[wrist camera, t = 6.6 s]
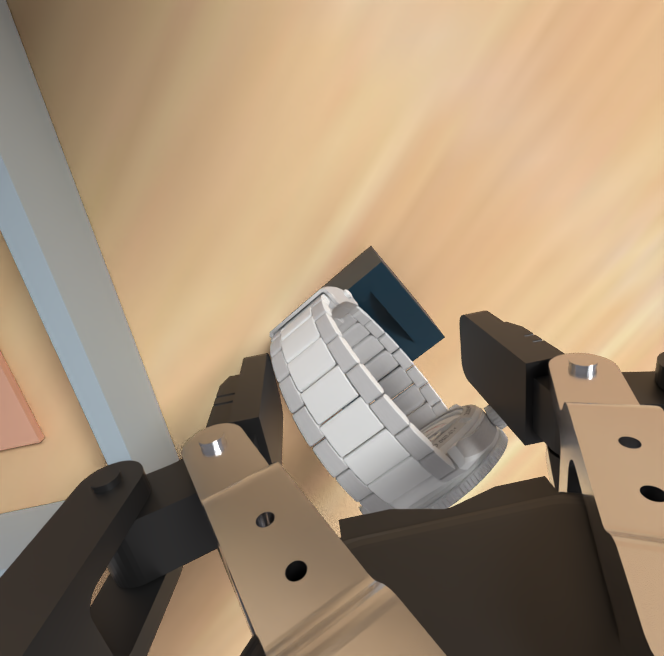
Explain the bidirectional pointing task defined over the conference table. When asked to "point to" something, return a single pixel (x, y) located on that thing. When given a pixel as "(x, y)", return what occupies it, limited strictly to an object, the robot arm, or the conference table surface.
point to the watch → (379, 395)
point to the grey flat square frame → (67, 288)
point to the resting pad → (15, 413)
